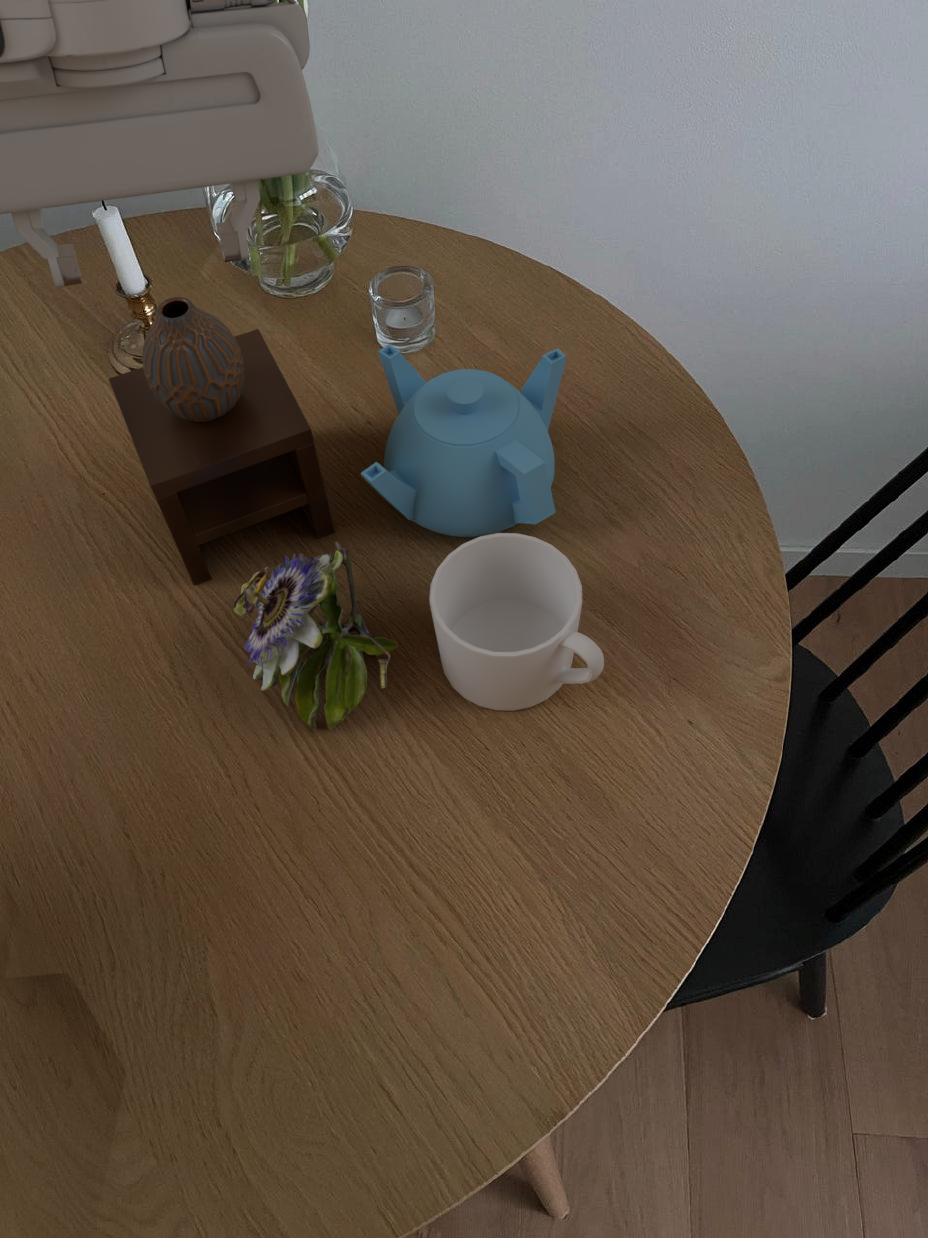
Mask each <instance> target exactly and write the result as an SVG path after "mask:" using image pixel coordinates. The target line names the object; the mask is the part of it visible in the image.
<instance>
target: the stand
mask: <svg viewBox="0 0 928 1238" xmlns="http://www.w3.org/2000/svg"><path fill="white" fill-rule="evenodd" d="M234 338H235V339H236V341H237V343H238V345H239V347H240V350H241V353H242V357H243V361H244V367H245V380H244V387H243V390H242V393H241V396H240V398H239V400H238V401H237V403H236V404H235V405H234V407H233V408H232V409H231V410H229V411H228V412H227V413H226V414H224V415H223V416H221V417H219V418H217V419H215V420H212V421H207V422H194V421H188V420H184V419H182V418H179V417H177V416H175V415H173V414H172V413H170V412H169V411H168V410H166V409H165V408H164V407H163V406H162V405H161V404H160V403H159V401H158V400H157V399H156V397H155V396H154V395H153V393H152V391H151V389H150V387H149V385H148V382H147V380H146V377H145V374H144V369H143V366H142V367H139V368H135V369H133V370H130V371H127V372H124V373H120V374H118V375H115V376H112V377H109V378H108V381H109V384H110V387H111V389H112V392H113V395H114V397H115V399H116V403H117V405H118V407H119V409H120V412H121V415H122V417H123V420H124V422H125V425H126V427H127V430H128V433H129V435H130V438H131V440H132V443H133V446H134V449H135V451H136V453H137V455H138V458H139V461H140V463H141V466H142V469H143V471H144V474H145V476H146V478H147V481H148V485H149V486H150V489H151V491H152V494H153V496H154V497H155V498H154V499H155V501H156V502H157V505H158V507H159V509H160V511H161V514H162V516H163V518H164V521H165V523H166V525H167V528H168V530H169V532H170V534H171V537H172V539H173V541H174V544H175V546H176V548H177V551H178V553H179V555H180V557H181V559H182V562H183V563H184V566H185V569H186V571H187V573H188V575H189V578H190V581H191V582H192V584H193V586H197V585H199V584H202V583H205V582H207V581H209V580H212V575H211V573H210V570H209V569H208V566H207V563H206V560H205V558H204V557H203V554H202V551H201V549H200V547H199V545H201V544H202V545H203V544H205V543H207V542H210V541H213V540H215V539H218V538H221V537H223V536H227V535H229V534H231V533H235V532H238V531H239V530H242V529H244V528H247V527H250V526H252V525H255V524H258V523H261V522H264V521H266V520H269V519H272V518H275V517H278V516H281V515H283V514H286V513H288V512H290V511H293V510H296V509H299V508H301V507H302V509H303V511H304V513H305V516H306V518H307V519H308V522H309V524H310V525H311V527H312V530H313V532H314V534H315V536H316V538H317V539H320V538H323V537H326V536H328V535H331V534H334V533H335V532H336V531H335V526H334V522H333V517H332V514H331V509H330V505H329V501H328V497H327V491H326V489H325V487H326V486H325V483H324V479H323V474H322V470H321V465H320V462H319V458H318V453H317V449H316V444H315V440H314V435H313V431H312V428H311V426H310V424H309V422H308V421H307V418H306V416H305V413H303V411H302V409H301V407H300V405H299V403H298V400H297V399H296V397H295V395H294V394H293V392H292V390H291V387H290V386H289V384H288V382H287V380H286V378H285V377H284V374H283V373H282V371H281V369H280V367H279V364H278V363H277V361H276V359H275V357H274V355H273V354H272V351H271V350H270V348H269V346H268V344H267V343H266V341H265V338H264V337H263V335H262V333H261V331H260V329H259V328H255V329H253V330H250V331H247V332H243V333H241V334H238V335H235V336H234Z"/></svg>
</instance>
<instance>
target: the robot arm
mask: <svg viewBox="0 0 928 1238" xmlns="http://www.w3.org/2000/svg"><path fill="white" fill-rule="evenodd" d="M276 1H277V0H0V215H6V214H11V217H12V220H13V223H14V227H15V230H16V233H17V234H18V236H20V237H21V238H22V239H24V241H25V242H26V243H27V244H28V245H29V246H30V247H31V248H33V250H34V251H36V253H37V254H38V255H40V256H41V257H42V258H43V260H47V264H48V267H49V270H50V273H51V277H52V280H53V284H54V286H55V288H64V287H69V286H73V285H74V286H75V285H80V284H83V280H82V279H83V277H82V271H81V268H80V265H79V262H78V259H77V253H76V250H75V249H76V248H75V246H74V244H73V243H68V244H66V243H65V244H58V243H57V242H56V241H55V240H54V239H53V238H52V237H51V235H50V234H49V233H48V232H46V230H45V229H44V228H43V227H44V222H43V220H44V219H43V211H42V210H43V209H52V208H57V207H58V208H59V207H66V206H73V205H80V204H88V203H97V202H103V201H111V200H118V199H125V198H134V197H141V196H148V195H155V194H163V193H169V192H179V191H185V190H192V189H193V190H194V189H200V188H208V187H215V186H223V185H229V189H230V190H231V193H232V195H233V197H234V199H235V200H236V201H235V203H234V206H233V209H232V211H231V214H230V217H229V220H228V221H222V222H216V223H215V227H216V233H217V236H218V239H219V241H218V244H219V248H220V253H221V256H222V257H221V258H223V262H224V263H230V262H235V261H236V262H237V261H244V260H249V259H250V258H251V257H250V249H249V243H248V237H247V231H249V229H250V226H251V224H252V221H253V218H254V216H255V214H256V212H257V209H258V206H259V204H260V202H261V199H262V198H261V191H260V183H259V180H266V179H272V178H273V179H274V178H275V179H276V178H281V177H282V178H283V177H289V176H296V175H297V176H299V175H304V174H306V173H308V172H309V171H310V170H311V168H312V167H313V165H314V163H315V162H316V160H317V158H318V156H319V152H320V149H319V141H318V134H317V128H316V123H315V117H314V112H313V108H312V103H311V100H310V95H309V91H308V87H307V83H306V80H305V77H304V76H305V75H304V73H303V70H304V69H305V67H306V65H307V63H308V60H309V56H310V50H311V44H310V36H309V35H310V34H309V25H308V18H307V15H306V12H305V9H304V7H303V5H302V3H301V1H299V0H285V1H284V2H283V1H282V2H276Z"/></svg>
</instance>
